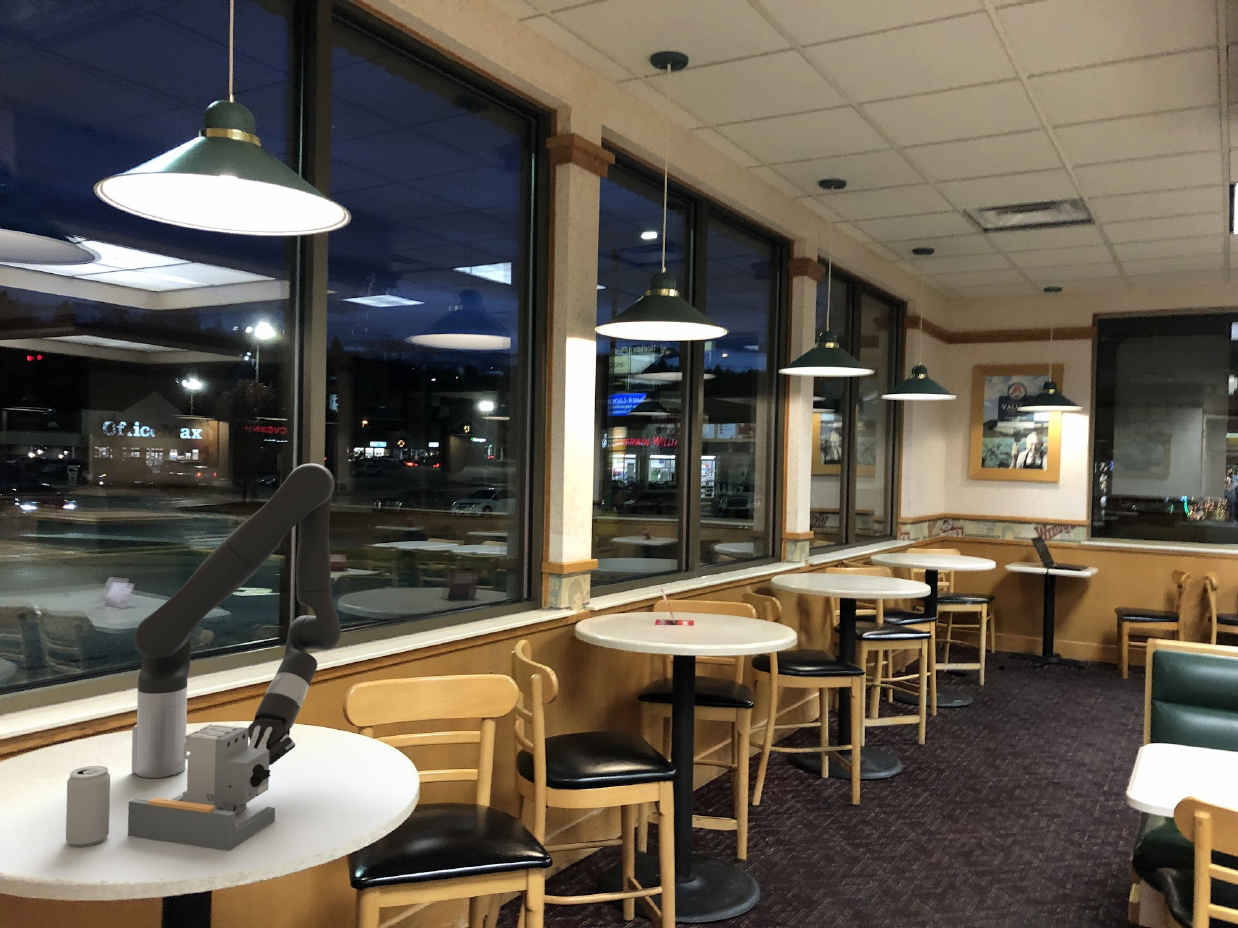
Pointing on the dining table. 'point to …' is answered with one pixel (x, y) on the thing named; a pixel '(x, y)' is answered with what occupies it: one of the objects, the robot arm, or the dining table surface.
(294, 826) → the dining table surface
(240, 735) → the circuit breaker
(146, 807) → the breaker bay
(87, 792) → the beverage can
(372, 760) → the dining table surface
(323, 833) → the dining table surface
